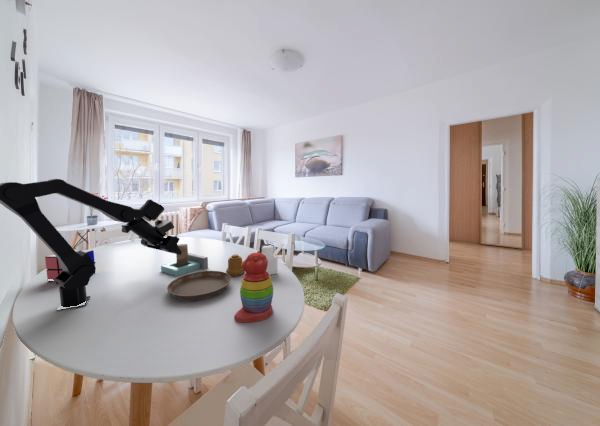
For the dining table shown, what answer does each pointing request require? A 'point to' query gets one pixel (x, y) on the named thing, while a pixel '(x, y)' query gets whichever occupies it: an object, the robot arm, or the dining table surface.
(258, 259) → the stacking bear
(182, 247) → the walnut dowel
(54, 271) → the puzzle cube
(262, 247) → the medicine bottle
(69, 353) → the dining table surface
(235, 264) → the ornamental finial
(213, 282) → the plant saucer
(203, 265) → the charcoal wall
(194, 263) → the socket block
